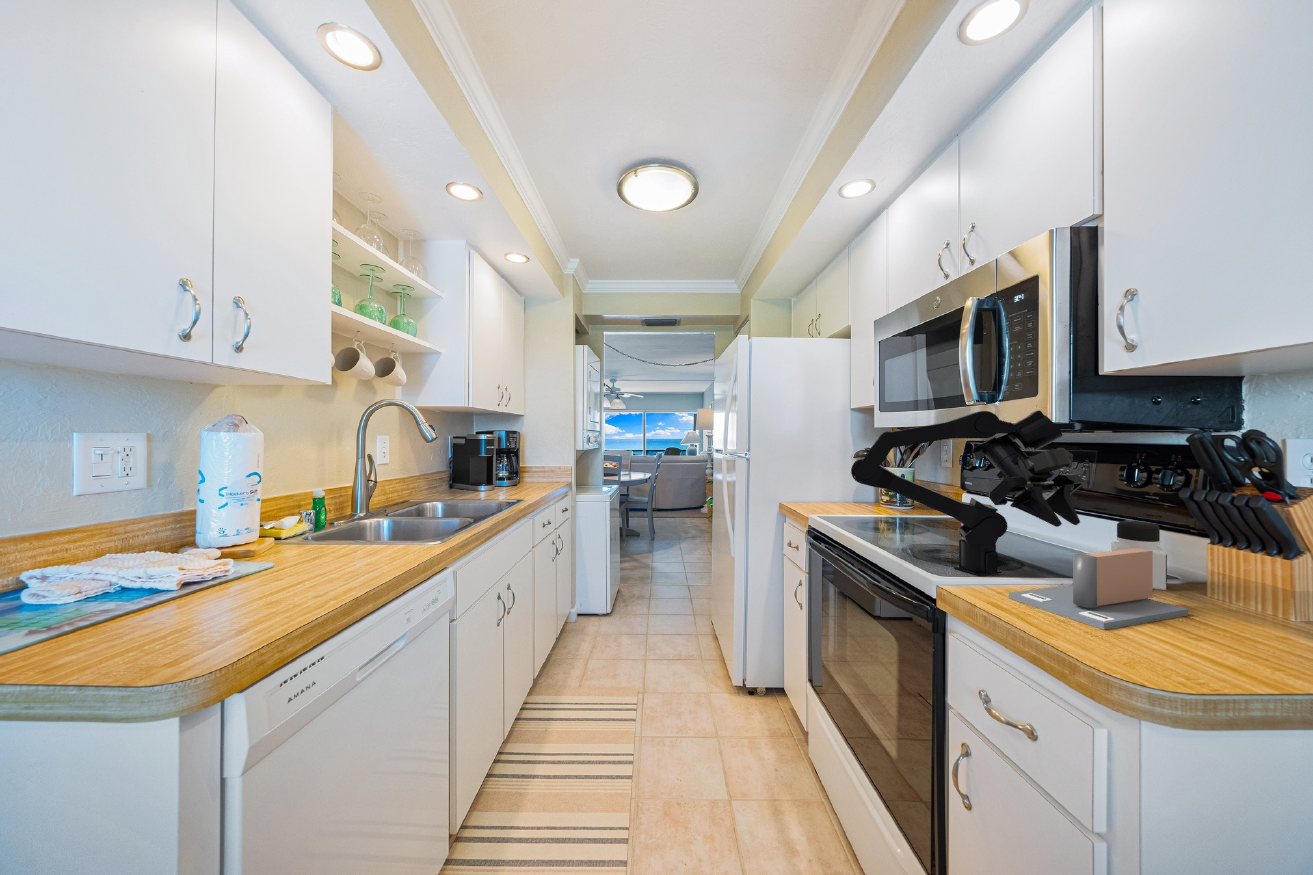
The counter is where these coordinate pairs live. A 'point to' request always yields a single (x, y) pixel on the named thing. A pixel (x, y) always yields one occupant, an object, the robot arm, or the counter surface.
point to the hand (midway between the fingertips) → (1068, 524)
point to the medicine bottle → (1144, 546)
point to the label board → (1098, 608)
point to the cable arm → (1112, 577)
